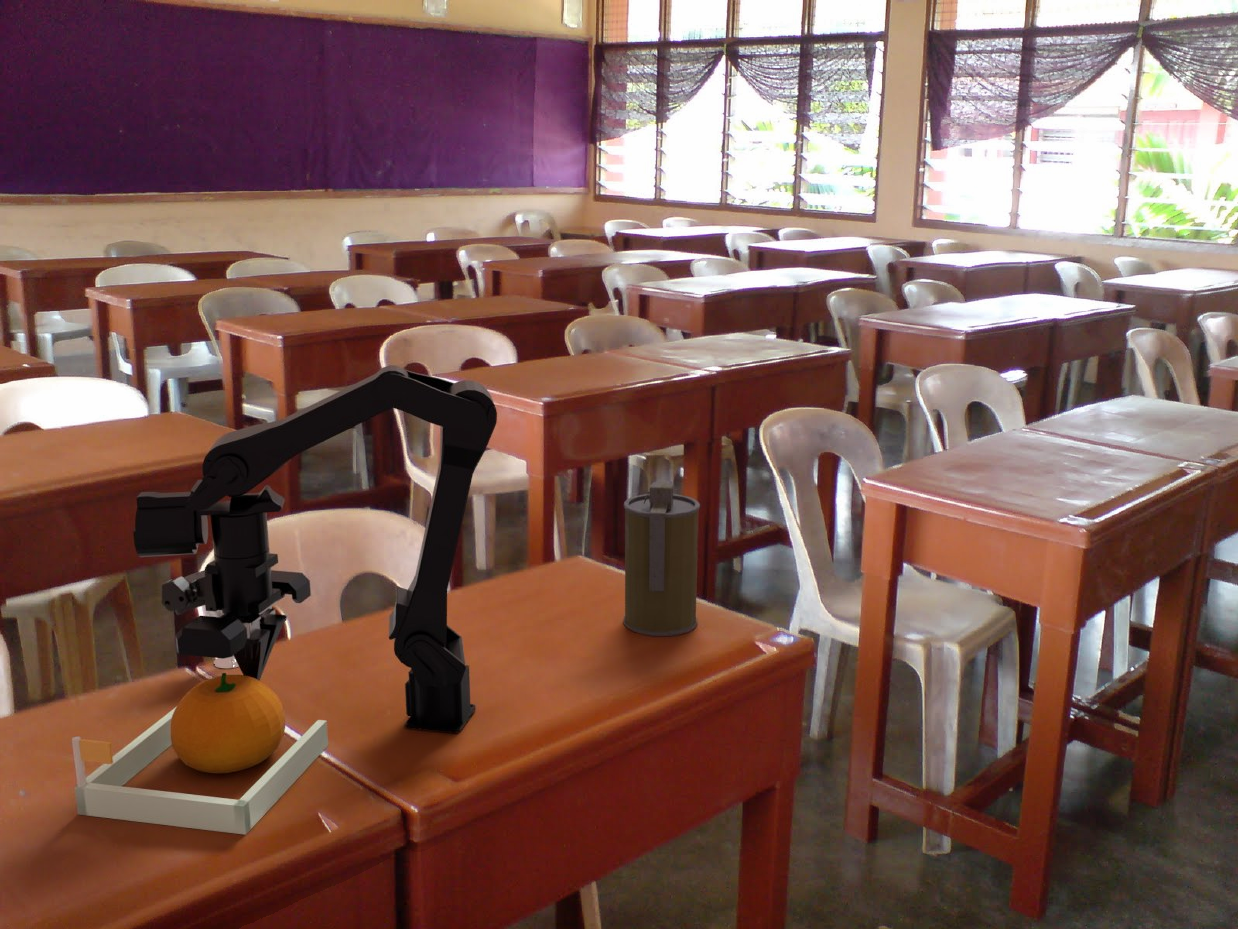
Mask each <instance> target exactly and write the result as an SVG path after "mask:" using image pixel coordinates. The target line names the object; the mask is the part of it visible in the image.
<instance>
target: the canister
mask: <svg viewBox="0 0 1238 929" xmlns="http://www.w3.org/2000/svg"><path fill="white" fill-rule="evenodd" d="M700 507H701V504H700V502H699V501H698V500H696V499H694V498H693V497H691V496H687V495H681V494H676V493H674V482H672V481H671V480H655V481H654V482H652V484H650V486H649V491H647V493H645V494H639V495H636V496H632V497H629V498H627V499H626V500H624V503H623V508H624V509H625V510H624V518H625V519H624V521H625V522H624V544H625V545H624V616H623V619H622V620H623V624H624V626H625V627H626V628H627V629H628V630H630V631H633V632H634V633H638V634H641V635H645V636H651V637H673V636H679V635H683V634H686V633H689V632H691V631H693V630H694V629H695V628H696V627H697V626H698V622H699V620H698V617H697V581H698V576H697V575H698V547H699V546H698V545H699V544H698V539H699V536H698V534H699V510H700Z"/></svg>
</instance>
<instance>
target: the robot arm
mask: <svg viewBox="0 0 1238 929" xmlns="http://www.w3.org/2000/svg"><path fill="white" fill-rule="evenodd" d="M390 409H395V410H398V411H402V412H404V413H407V414H409V415H411V416H414V417H416V418H418V419H420V420H423V421H425V422H427V423H429V424H433V425H436V426H439V429H440V431H439V440H440V441H439V442H440V443H439V462H438V467H437V473H436V478H435V482H434V486H433V491H432V496H431V500H430V506H429V510H428V514H427V519H426V523H425V529H424V533H423V537H422V541H421V542H422V543H421V546H420V547H421V548H420V552H419V556H418V562H417V565H416V571H415V574H414V576H413V579H412V581H411V583H410V585H409V587H408V588H407V589H406V588H404V587H401V586H396V587H395V605H394V606H393V607H394V608H393V610H392V611H391V613H390V614H389V618H388V639H389V640H390V641H393V651H394V655H395V657H396V658H397V659H398V661H400V663H401V664H403V665H405V666H406V667H407V668H409V669H410V670H409V671H408V680H407V681H406V682H405V684H404V692H405V693H404V694H405V708H406V709H405V713H406V716H407V717H408V719H407V720H406V721H405V722H404V727H405V728H406V729H413V730H421V731H422V730H423V731H433V732H444V733H450V734H451V733H454V734H457V733H460V732H461V731H462V730H463V728H464V726H465V725H466V723H467V722H468V721H469V719H470V718H471V716H472V715H473V714H474V712H475V711H476V707H477V706H476V704H473V703H471V682H470V681H471V679H470V665H467V664H466V657H465V650H464V643H463V637H462V636H461V635H460V634H459V633H458V632H457V631H455V630H454V629H453V628H451V627H450V626H449V625H448V589H449V584H450V579H451V576H452V575H451V574H452V571H453V565H454V562H455V558H456V552H457V548H458V543H459V540H460V539H459V538H460V534H461V530H462V525H463V520H464V518H465V517H464V516H465V512H466V508H467V502H468V500H469V499H468V497H469V492H470V490H471V484H472V480H473V474H474V473H475V470H476V469H477V466H478V465H479V463H480V462H481V459H482V457H483V455H484V453H485V451H486V449H487V448H488V445H489V442H490V439H491V438H492V436H493V433H494V430H495V428H496V425H497V422H498V421H497V420H498V411H497V407H496V404H495V403H494V399H493V396H492V395H491V393H490V391H489V390H488V389H487V387H485V386H484V385H482V384H481V383H480V382H479V381H475V380H471V379H469V380H467V379H465V380H460V381H456V382H452V381H449V380H446V379H444V378H440V377H436V376H431V375H427V374H422V373H417V372H414V371H412V370H411V371H410V370H407V369H404V368H403V367H401V366H399V365H391V364H390V365H386V366H384V367H382V368H380V369H379V370H378V371H377V372H376V373H374V374H372V375H370V376H368V377H366V378H364V379H361V380H360V381H357V382H356V383H354V384H352V385H349V386H348V387H345V388H344V389H341V390H339V391H337V392H336V393H333V394H332V395H329V396H326V397H325V398H323V399H321V400H318V401H317V402H314V403H312V404H310V405H309V406H306V407H304V408H303V409H300V410H298V411H296V412H294V413H292V414H290V415H288V416H286V417H284V418H282V419H278V420H274V421H271V422H264V423H259V424H258V423H257V424H255V425H254V424H253V425H251V426H247V427H244V428H240V429H237V430H233V431H231V432H227V433H225V434H223V435H221V436H220V437H218V438H217V440H215V442H214V443H213V445H212V446H211V447H210V449H209V450H208V451H207V454H206V455H205V456H204V459H203V462H202V465H201V466H202V476H203V478H202V479H197V481H195V484H194V485H193V487H192V488H191V489H190V491H177V492H157V491H142V492H140V493H139V494H138V496H137V497H136V500H135V501H136V512H135V519H134V522H135V524H134V530H133V532H132V533H133V534H132V535H133V543H134V548H135V552H136V553H137V556H138V557H140V558H145V557H166V556H167V557H168V556H181V555H182V556H185V555H196V554H197V553H198V550H199V545H206V544H207V543H208V538H209V523H208V522H209V521H208V516H210V526H211V537H212V547H213V557H214V560H212V561H211V562H209V563H207V564H206V566H205V567H204V569H203V570H201V571H197V572H194V573H191V574H189V575H186V576H184V577H183V576H181V575H179V576H178V577H176V578H175V579H169V580H166V581H165V582H163V583H161V604H162V606H164V608H165V609H166V610H167V611H168V612H172V613H173V612H175V614H176V615H177V616H179V615H183V614H185V613H186V611H189V610H193V609H197V608H199V607H203V606H204V605H205V608H206V611H214V612H216V611H217V610H222V613H223V615H222V616H220V617H211V616H208V615H199V616H197V617H196V618H194V619H192V621H190V622H189V623H187V624H185V625H184V626H182V627H181V628H180V630H178V632H177V633H176V634H175V636H174V637H175V646H176V647H175V648H176V653H178V654H177V655H181V656H182V655H184V656H193V657H194V656H195V657H203V658H213V659H214V658H215V659H217V658H222V659H224V658H229V657H232V656H233V655H234V657H235V659H236V661H237V663H238V665H239V667H238V668H239V670H240V671H241V673H242V675H246V676H250V677H253V678H255V679H257V680H259V681H261V678H262V675H263V673H264V670H265V668H266V666H267V663H268V660H269V657H270V656H271V654H272V651H273V648H274V646H275V643H276V641H277V639H278V637H279V635H280V633H281V631H282V628H283V625H284V624H285V622H287V619H288V616H287V615H286V614H279V613H278V614H277V613H276V609H275V608H273V606H274V605H275V604H276V603H278V602H279V601H280V600H282V599H283V598H284V597H286V595H288V596H289V595H291V599H292V600H293V602H294V603H295V604H302V603H303V602H304V601H306V600H307V599H308V598H309V597H311V596H312V593H311V581H310V579H309V578H308V577H307V576H306V575H305V574H304V572H296V571H287V570H286V571H285V570H274V569H273V570H272V567H274V566H276V565H278V563H279V557H278V556H279V555H278V553H271V551H270V542H269V540H270V539H269V528H268V515H267V514H268V513H279V512H281V511H282V510H283V506H284V503H285V501H286V500H285V497H283V496H282V495H280V494H279V493H277V492H276V491H274V490H273V488H271V486H270V485H268V484H266V485H265V486H264V487H263V489H262V490H261V491H259V492H256V493H249V492H250V491H252V490H253V489H254V488H256V487H257V486H258V485H260V484H261V483H263V482H264V481H265V480H267V479H268V478H269V477H271V476H272V475H273V474H275V473H276V472H277V471H278V470H279V469H280V468H281V467H282V466H284V465H285V464H286V463H287V462H289V461H290V460H292V459H293V458H294V457H296V456H297V455H299V454H302V453H303V452H306V451H307V450H309V449H311V448H313V447H315V446H317V445H319V444H321V443H323V442H325V441H328V440H329V439H332V438H334V437H336V436H337V435H340V434H342V433H344V432H346V431H347V430H350V429H352V428H354V427H356V426H358V425H360V424H362V423H364V422H366V421H369V420H370V419H372V418H374V417H376V416H378V415H380V414H381V415H382V414H383V413H384V412H387V411H389V410H390ZM225 497H229V498H230V500H226V501H221V500H222V499H223V498H225Z"/></svg>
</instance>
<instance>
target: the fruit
mask: <svg viewBox="0 0 1238 929" xmlns="http://www.w3.org/2000/svg"><path fill="white" fill-rule="evenodd" d="M175 708H176V709H175V711H174V713H173V715H172V719H171V743H172V745H171V746H172V748H173V750H174V753H175V754H176V755H177V756H178V758H179V759H180V760H181V761H182V763H184V765H186V766H188V767H190V768H192V769H194V770H197V771H200V772H203V773H211V774H229V773H233V772H234V773H235V772H239V771H244V770H246V769H249V768H253V767H254V766H256V765H258V764H260V763H262V762H264V761H265V760H267V759H268V758H269V757H270V756H271V755H273V753H274V752H275V751H276V750H277V749H278V746H280V743H281V741H282V739H283V737H284V735H285V730H286V717H285V712H284V707H283V704H282V701H281V700H280V698H279V696H278V695H277V694H276V693H275V692H274V691H273V689H271V688H270V687H269V686H267V685H266V684H265V683H264V682H263V681H261V680H260V681H259V680H257V679H255V678H253V677H250V676H246V675H243V674H227V673H226V672H222V673H221V675H219V676H215V677H211V678H208V679H205V680H203V681H201V682H199V683H197V684H196V685H195V686H193V687H192V688H190V690H189V691H188V692H186V694H185V695H184V696H183V697H182V699H181V700H180V701H179V703H178V705H176V706H175Z"/></svg>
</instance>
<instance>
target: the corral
mask: <svg viewBox="0 0 1238 929" xmlns="http://www.w3.org/2000/svg"><path fill="white" fill-rule="evenodd" d="M175 709H176V707H174V708H173V709H172V710H170V711H169V712H168V713H167V714H165V715H164V716H163V717H162V718H160V719H159V720H158V721H156V722H155V723H154V724H152V726H150V727H149V728H148V729H146V730H145V731H144V732H142V733H141V734H139V736H137V737H136V738H135V739H133V740H132V741H131V742H130V743H128V744H127V745H126V746H124V747H123V748H122V749H121V750H119V751H118V752H117V753H115V754H114V755H113V750H112V743H111V741H102V740H95V739H94V740H92V739H84V738H82V737H81V736H73V737H72V738H71V742H72V745H71V746H72V753H73V759H74V767H75V775H76V783H77V784H76V785H75V786H74V795H75V801H76V802H75V803H76V810H77V815H79V816H80V815H82V816H88V817H89V816H90V817H96V818H97V817H98V818H104V819H105V818H106V819H107V818H108V819H114V820H122V821H131V822H139V823H145V824H146V823H148V824H155V825H165V826H171V827H178V828H185V829H186V828H188V829H189V828H190V829H196V830H202V831H203V830H206V831H210V832H211V831H212V832H213V831H214V832H221V833H230V834H236V835H237V834H239V835H244V836H245V835H247V834H249V832H250V831H251V830H252V828H254V826H256V824H257V823H258V822H259V821H260V820H261V819H262V818H263V816H265V814H267V812H268V811H269V810H270V809H271V808H272V807H273V806H274V805H275V804H276V803H277V802H278V801H279V799H281V798H282V796H283V795H284V794H286V792H287V791H288V790H289V789H290V788H291V786H293V784H294V783H295V782H296V781H298V779H299V778H300V777H301V775H302V774H303V773H304V772H305V771H306V770H307V769H308V768H309V767H310V766H311V765H312V764H313V763H314V762H315V760H316V759H318V758H319V756H320V755H321V754H322V753H323V752H324V751H325V750H326V749H327V748H328V747H329V738H328V723H327V720H325V719H324V720H323V719H317V720H316V722H314V724H312V725H311V726H310V727H309V729H307V731H306V732H305V733H303V735H302V736H300V737H299V738H298V739H297V741H295V742H294V744H292V745H291V747H290V748H288V749H287V750H286V752H285V753H284V754H283V755H282V756H280V757H279V759H278V760H277V761H276V762H275V763H274V764H273V765H272V766H271V767H270V768H269V769H268V770H267V771H266V772H265V773H264V774H263V775H262V776H261V777H260V778H259V779H258V780H257V781H256V782H255V783H254V784H253V785H252V786H251V787H250V788H249V789H248V790H247V791H246V792H245V793H244V794H243V796H241V797H240V798H239V799H232V798H225V797H224V798H223V797H216V796H207V795H199V794H192V793H191V794H189V793H182V792H173V791H163V790H156V789H148V788H140V787H139V788H138V787H130V786H124V785H125V784H126V783H128V782H129V781H130V780H131V779H133V778H134V777H135V776H136V775H137V774H138V773H139V772H141V771H142V770H143V769H144V768H146V767H147V766H148V765H149V764H151V762H154V760H155V759H157V758H158V757H159V756H160V755H161V754H162V753H164V752H165V751H166V750H167V749H168V748H170V746H172V743H171V719H172V715H173V713H174V711H175ZM86 762H89V763H98V764H101V765H100V766H99V767H97V768H96V769H95V770H94V771H92V772H91V773H90V774H89V775H88V776H86V775H87V774H86V768H85V763H86Z"/></svg>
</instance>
